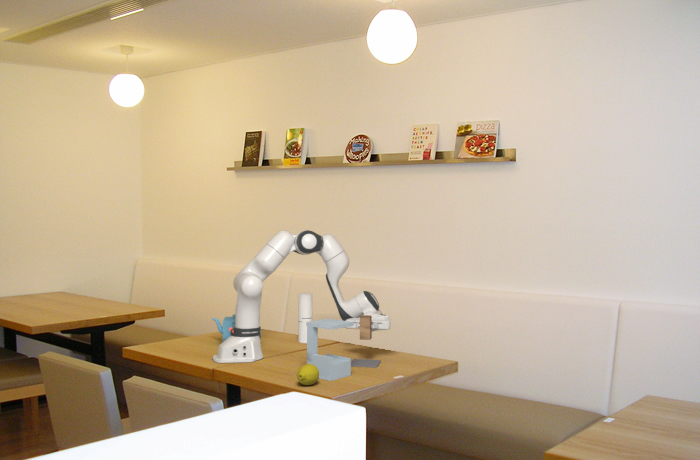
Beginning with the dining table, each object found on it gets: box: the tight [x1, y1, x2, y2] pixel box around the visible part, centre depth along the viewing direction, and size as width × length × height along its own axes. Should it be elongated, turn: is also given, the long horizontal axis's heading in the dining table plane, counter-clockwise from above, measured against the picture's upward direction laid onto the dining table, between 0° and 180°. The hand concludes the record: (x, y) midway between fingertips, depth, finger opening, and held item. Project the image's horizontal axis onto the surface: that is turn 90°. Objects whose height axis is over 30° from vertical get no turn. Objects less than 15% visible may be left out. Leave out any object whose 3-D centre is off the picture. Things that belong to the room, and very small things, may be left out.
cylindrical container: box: [297, 292, 313, 344], centre depth 324 cm, size 7×7×25 cm
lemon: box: [296, 363, 320, 386], centre depth 237 cm, size 11×8×8 cm
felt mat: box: [351, 358, 382, 368], centre depth 274 cm, size 12×12×1 cm
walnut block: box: [359, 315, 373, 341], centre depth 274 cm, size 4×4×10 cm
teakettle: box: [210, 314, 235, 342], centre depth 319 cm, size 19×19×15 cm
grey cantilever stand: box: [306, 318, 354, 382], centre depth 253 cm, size 13×14×22 cm
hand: (365, 326), depth 273 cm, fingers closed on walnut block, 4 cm apart
